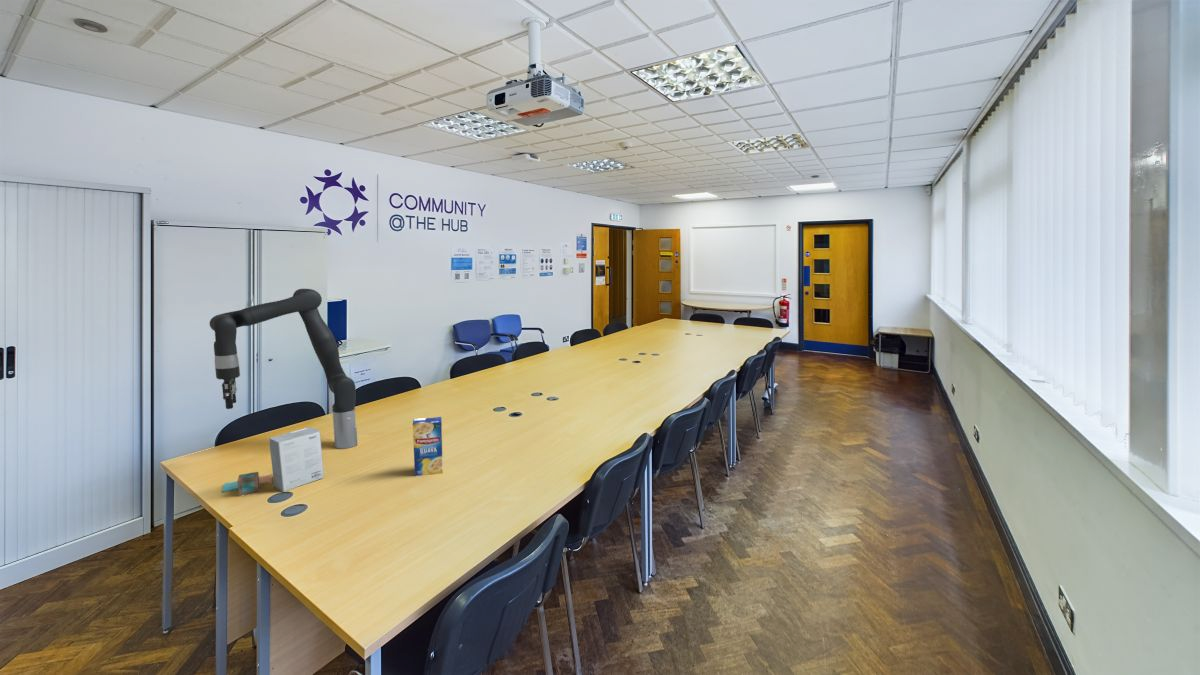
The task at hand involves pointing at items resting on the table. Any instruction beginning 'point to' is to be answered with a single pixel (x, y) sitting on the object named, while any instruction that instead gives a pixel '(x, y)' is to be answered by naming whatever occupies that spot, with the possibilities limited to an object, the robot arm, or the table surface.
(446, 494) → the table surface
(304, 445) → the hard drive box
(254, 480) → the cube
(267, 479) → the pad terracotta
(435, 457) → the blue food box
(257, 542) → the table surface
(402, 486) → the table surface
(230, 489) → the pad teal
